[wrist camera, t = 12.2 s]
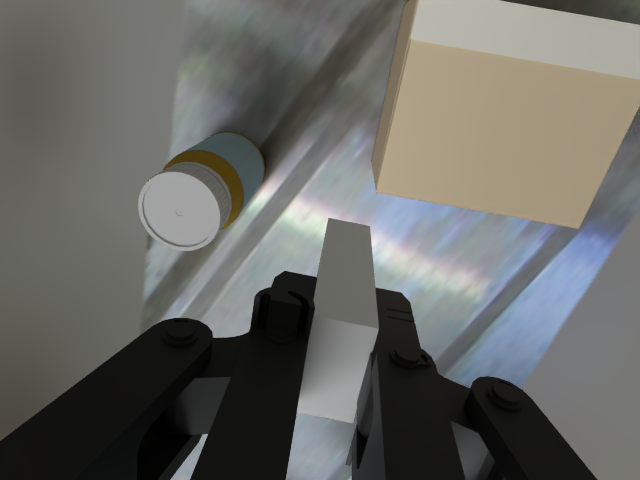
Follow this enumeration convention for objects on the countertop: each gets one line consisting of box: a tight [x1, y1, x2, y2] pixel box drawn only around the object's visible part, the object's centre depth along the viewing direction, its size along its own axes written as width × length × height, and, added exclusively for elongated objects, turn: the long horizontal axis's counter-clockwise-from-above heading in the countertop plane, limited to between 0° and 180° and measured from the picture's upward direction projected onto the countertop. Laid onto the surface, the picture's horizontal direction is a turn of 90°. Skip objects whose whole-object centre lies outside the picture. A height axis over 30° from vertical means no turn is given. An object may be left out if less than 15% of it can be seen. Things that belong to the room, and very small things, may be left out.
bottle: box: [138, 132, 265, 251], centre depth 38 cm, size 7×7×15 cm
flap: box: [376, 0, 640, 229], centre depth 31 cm, size 14×16×1 cm
